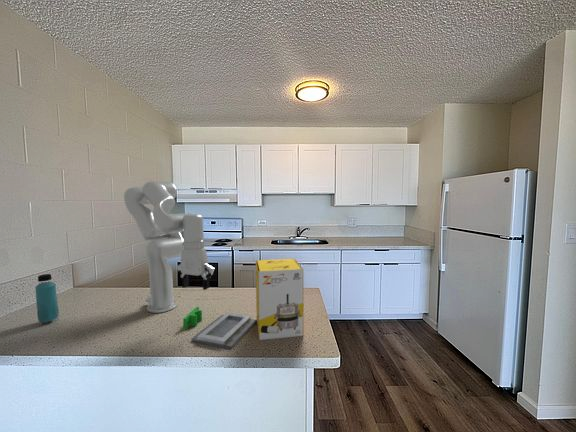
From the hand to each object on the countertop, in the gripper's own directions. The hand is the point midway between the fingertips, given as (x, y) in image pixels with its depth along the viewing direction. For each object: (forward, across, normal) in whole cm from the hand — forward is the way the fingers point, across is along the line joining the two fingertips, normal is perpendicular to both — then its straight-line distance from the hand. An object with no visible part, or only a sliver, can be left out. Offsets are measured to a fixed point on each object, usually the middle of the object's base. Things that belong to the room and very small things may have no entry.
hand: (195, 287), depth 107 cm
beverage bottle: (+14, -60, -18) cm, 64 cm away
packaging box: (+16, +32, +7) cm, 37 cm away
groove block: (+15, +14, -2) cm, 21 cm away
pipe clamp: (+15, -2, 0) cm, 15 cm away
